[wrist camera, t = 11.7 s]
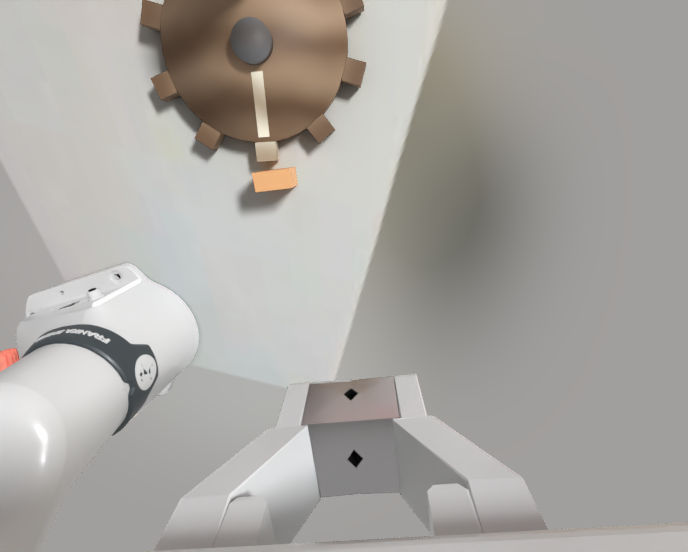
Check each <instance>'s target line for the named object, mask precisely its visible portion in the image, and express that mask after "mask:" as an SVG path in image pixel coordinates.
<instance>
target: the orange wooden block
mask: <svg viewBox="0 0 688 552" xmlns="http://www.w3.org/2000/svg"><path fill="white" fill-rule="evenodd" d="M252 176H253V181H254V187H255V192H262V191H271V190H279V189H288V188H293V187H295V186H296V185H298V183H297V177H296V170H295V167H291V168H282V169H274V170H266V171H259V172H255V173H252Z"/></svg>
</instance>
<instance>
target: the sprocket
mask: <svg viewBox="0 0 688 552" xmlns="http://www.w3.org/2000/svg"><path fill="white" fill-rule="evenodd" d="M363 11H364V4H363V1H362V0H164V4H163V5H161V4H158V3H154V2H151V1H147V0H142V11H141V23H140V24H142V25H143V26H145V27H147V28H149V29H153V30H156V31H160V32H161V42H162V51H163V55H164V59H165V63H166V66H167V69H168V71H165V72H163V73H161V74H159V75H157V76H155V77H153V78H151V80H152V82H153V84H154V86H155V88H156V91H157V93H158V95H159V97H160V99H161V100H165V101H169V100H172V99H174V98H176V97H178V96H181V97H182V99H183V100H184V102H185V103H186V104H187V105H188V107H189V108H190V109H191V110H192V111H193V112H194V113H195V114H196V115H197V116H198V117H199V118H200V119H201V120H202V121H204V122H202V124H201V126H200V128H199V130H198V132H197V134H196V137H195V139H197V140H198V141H200V142H201V143H203V144H204V145H206V146H207V147H209V148H211V149H212V150H218V148H219V146H220V144H221V142H222V140H223V138H224V136H225V135H227V136H230V137H232V138H236V139H239V140H243V141H250V142H257V143H255V149H256V157H257V162H261V161H277V160H280V159H279V149H278V142H276V141H280V140H283V139H287V138H290V137H292V136H295V135H297V134H299V133H301V132H302V131H304V130H306V129H308V130H309V131H310V133H311V134H312V135H313V136H314V138H315V139H316V140H317V141H318V143H321V142H322V141H323V140H325V139H326V138H327V137H328V136H329V135H330V134H331V133H332V132H334V131H335V129H334V128H333V126H332V125H331V124H330V122H329V121H328V120H327V119H326V117H325V116H324V115H323V114H324V113H325V112H326V110H327V109H328V108H329V106H330V105H331V103H332V102H333V100H334V98H335V96H336V94H337V93H338V91H339V88H340V85H341V83H345V84H348V85H352V86H355V87H359V88H360V87H361V83H362V79H363V75H364V71H365V67H366V62H362V61H359V60H355V59H351V58H348V57H347V54H348V38H347V29H346V21H345V19H348V18H350V17H352V16H354V15H356V14H358V13H361V12H363ZM344 16H345V17H344Z"/></svg>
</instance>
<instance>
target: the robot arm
mask: <svg viewBox="0 0 688 552" xmlns="http://www.w3.org/2000/svg"><path fill="white" fill-rule="evenodd" d="M117 274H119V275H120V276H121V278H119V277H118V276H117ZM16 344H17V349H18V351H17V349H15V348H12V349H6V350H4V351H0V552H41V550H42V548H43V545H44V543H45V540H46V538H47V536H48V533H49V531H50V529H51V526H52V524H53V522H54V520H55V517H56V515H57V513H58V511H59V509H60V507H61V505H62V503H63V501H64V499H65V497H66V495H67V494H68V492H69V490H70V489H71V487H72V485H73V484H74V482H75V481H76V480H77V478H78V477H79V475H80V474H81V473H82V471H83V470H84V469H85V468H86V466H87V465H88V464H89V462H90V461H91V460H92V459H93V458H94V456H95V455H96V454H97V453H98V451H99V450H100V448H102V446H103V445H104V444H105V443H106V442H107V440H108V439H109V438H110V437H111V436H112V435H115V434H116V433H117V432H119V431H120V430H121V429H122V428H124V426H126V424H127V423H129V422H130V421H131V420H132V419H133V418H134V416H136V415H137V414H138V413H139V412H140V411H141V410H143V409H144V408H145V407H146V406H147V405H148V404H149V403H150V402H151V401H152V400H153V399H154V398H155V397H156V396H162V395H164V394H165V393H167V392H168V391H169V390H170V389H171V387H172V385H173V383H174V380H175V378H176V376H177V375H178V374H179V373H180V372H182V371H183V370H184V369H185V368H186V367H187V366H188V365H189V364H190V363H191V362H192V360H193V359H194V357H195V355H196V352H197V349H198V345H199V332H198V327H197V323H196V321H195V318H194V316H193V314H192V312H191V311H190V309H189V308H188V306H187V305H186V304H185V303H184V302H183V301H182V299H180V298H179V297H178V296H177V295H176V294H175V293H173V292H172V291H170V290H169V289H167V288H165V287H163V286H161V285H159V284H157V283H155V282H153V281H151V280H150V279H148V278H147V277H146V276H145V275H144V274H143V273H142V272H141V271H140V270H139V269H138V268H137V267H135V266H134V265H132V264H130V263H124V264H120V265H117V266H114V267H111V268H108V269H105V270H102V271H99V272H96V273H93V274H90V275H86V276H83V277H80V278H77V279H74V280H71V281H68V282H65V283H62V284H59V285H56V286H53V287H50V288H46V289H43V290H40V291H38V292H35V293H33V294H32V295H30V296H29V297H28V300H27V303H26V318H25V319H24V320H22V321H21V322H20V323H19V325H18V327H17V330H16ZM18 353H19V355H18ZM19 356H20V360H19ZM371 493H400V495H401V496H402V498H403V499H404V500H405V501H406V503H407V504H408V505H409V506H410V508H411V509H412V510H413V512H414V513H415V514H416V515H417V517H418V518H419V519H420V520H421V522H422V523H423V524H424V525H425V527H426V528H427V529H428V531H429V532H430V536H424V537H406V538H387V539H370V540H351V541H333V542H315V543H298V544H290V543H291V542H292V540H293V539H294V537H295V536H296V534H297V533H298V531H299V530H300V529H301V527H302V526H303V524H304V523H305V521H306V520H307V519H308V517H309V516H310V514H311V513H312V511H313V510H314V508H315V507H316V506H317V504H318V502H319V501H320V498H321V497H331V496H342V495H353V494H371ZM146 552H688V522H685V523H666V524H649V525H632V526H613V527H595V528H575V529H558V530H557V529H556V530H548V529H547V527H546V525H545V523H544V521H543V519H542V516H541V514H540V513H539V510H538V508H537V506H536V504H535V502H534V500H533V498H532V496H531V494H530V492H529V490H528V488H527V486H526V484H525V482H524V480H523V478H522V477H520V476H519V475H518V474H516V473H515V472H513V471H512V470H511V469H509V468H508V467H506V466H505V465H503V464H502V463H500V462H499V461H498V460H496V459H495V458H493V457H492V456H490V455H489V454H487V453H486V452H485V451H483V450H482V449H480V448H479V447H477V446H476V445H475V444H473V443H472V442H470V441H469V440H467V439H466V438H465V437H463V436H461V435H460V434H459V433H457V432H456V431H454V430H453V429H452V428H450V427H449V426H447V425H446V424H444V423H443V422H442V421H440V420H439V419H437V418H436V417H435V416H427V414H426V410H425V406H424V403H423V398H422V395H421V390H420V386H419V383H418V379H417V375H416V374H415V373H413V374H405V375H396V376H387V377H378V378H369V379H359V380H339V381H323V382H311V383H310V382H306V383H295V384H290V385H289V386H288V387H287V390H286V394H285V397H284V400H283V404H282V407H281V410H280V413H279V417H278V420H277V423H276V427H275V428H268V429H267V430H266V431H265V432H264V433H262V434H261V435H260V436H258V437H257V438H256V439H255V440H253V441H252V442H251V443H250V444H248V445H247V446H246V447H245V448H243V449H242V450H241V451H240V452H239V453H237V454H236V455H235V456H233V457H232V458H231V459H230V460H228V461H227V462H226V463H225V464H224V465H222V466H221V467H220V468H218V469H217V470H216V471H215V472H213V473H212V474H211V475H210V476H208V477H207V478H206V479H205V480H203V481H202V482H201V483H200V484H198V485H197V486H196V487H195V488H194V489H193V490H191V491H190V492H189V493H187V494H186V495H185V496H184V497H182V498H181V499H180V501H179V503H178V505H177V507H176V509H175V511H174V513H173V515H172V517H171V519H170V521H169V522H168V525H167V526H166V528H165V530H164V532H163V534H162V536H161V538H160V540H159V542H158V544H157V546H156V548H155V550H154V551H146Z"/></svg>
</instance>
